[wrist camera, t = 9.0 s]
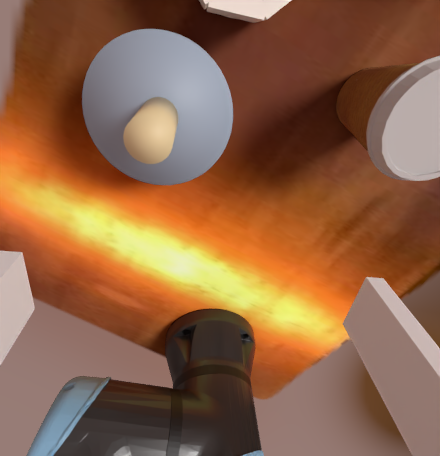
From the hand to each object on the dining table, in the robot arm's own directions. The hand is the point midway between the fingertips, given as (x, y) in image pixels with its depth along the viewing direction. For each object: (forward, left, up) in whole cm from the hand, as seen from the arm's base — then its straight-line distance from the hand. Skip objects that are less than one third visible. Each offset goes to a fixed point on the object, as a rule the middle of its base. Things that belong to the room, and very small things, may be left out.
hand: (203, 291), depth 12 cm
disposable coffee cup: (+6, -17, -26) cm, 31 cm away
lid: (+2, +4, -19) cm, 20 cm away
